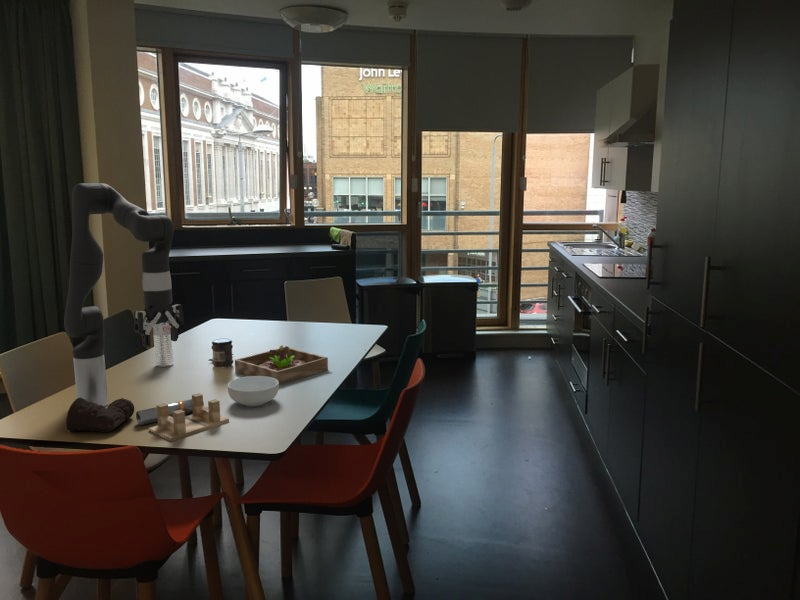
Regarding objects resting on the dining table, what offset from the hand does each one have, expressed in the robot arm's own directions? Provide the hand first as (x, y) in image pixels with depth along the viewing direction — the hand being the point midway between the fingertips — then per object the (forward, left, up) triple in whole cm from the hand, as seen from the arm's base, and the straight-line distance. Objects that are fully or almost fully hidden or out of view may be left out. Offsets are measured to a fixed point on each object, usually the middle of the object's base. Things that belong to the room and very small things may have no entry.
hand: (160, 343), depth 182 cm
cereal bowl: (-5, +35, -29) cm, 46 cm away
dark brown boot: (-24, -8, -29) cm, 38 cm away
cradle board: (-3, +9, -28) cm, 30 cm away
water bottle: (-69, +40, -29) cm, 85 cm away
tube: (-14, +10, -28) cm, 33 cm away
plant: (-26, +66, -29) cm, 76 cm away
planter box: (-26, +65, -28) cm, 76 cm away
